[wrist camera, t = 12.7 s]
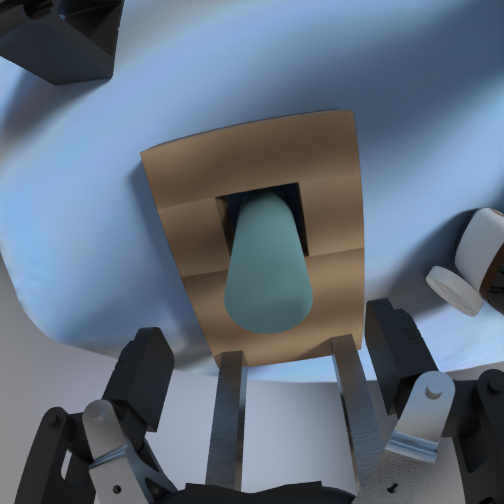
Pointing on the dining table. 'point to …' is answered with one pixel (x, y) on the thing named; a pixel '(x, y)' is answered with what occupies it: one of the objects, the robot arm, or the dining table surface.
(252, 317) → the peg
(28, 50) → the phone stand
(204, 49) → the dining table surface
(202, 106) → the dining table surface
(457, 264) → the spread jar
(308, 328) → the sheltered socket
